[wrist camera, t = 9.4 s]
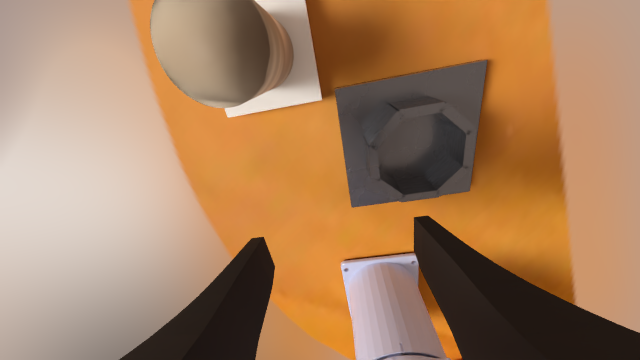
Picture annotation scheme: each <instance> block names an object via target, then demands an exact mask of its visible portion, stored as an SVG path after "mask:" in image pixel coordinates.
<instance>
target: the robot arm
mask: <svg viewBox="0 0 640 360" xmlns="http://www.w3.org/2000/svg"><path fill="white" fill-rule="evenodd" d="M414 252H415V253H409V254H400V255H391V256H383V257H374V258H365V259H356V260H347V261H343V262H342V263H341V269H342V274H343V279H344V285H345V290H346V295H347V300H348V305H349V310H350V315H351V317H352V324H353V334H354V344H355V354H356V360H451V359H450V358H447V357H446V355H445V352H444V350H443V347H442V345H441V343H440V340H439V338H438V335H437V333H436V330H435V328H434V325H433V323H432V321H431V318H430V316H429V313H428V311H427V308H426V306H425V303H424V301H423V299H422V296H421V294H420V291H419V289H418V267H419V266H420V269H421V271H422V273H423V275H424V277H425V279H426V281H427V283H428V285H429V287H430V289H431V291H432V293H433V295H434V297H435V299H436V301H437V303H438V305H439V307H440V309H441V311H442V313H443V315H444V317H445V319H446V321H447V323H448V325H449V327H450V329H451V331H452V334H453V336H454V339H455V341H456V344H457V346H458V349H459V351H460V353H461V356H462V358H463V360H640V333H638V332H636V331H633V330H630V329H628V328H626V327H623V326H621V325H618V324H616V323H614V322H612V321H609V320H607V319H605V318H602V317H600V316H598V315H595V314H593V313H591V312H589V311H586V310H584V309H582V308H580V307H578V306H575V305H573V304H571V303H569V302H567V301H565V300H563V299H561V298H559V297H557V296H555V295H553V294H551V293H549V292H547V291H545V290H543V289H541V288H539V287H537V286H535V285H533V284H531V283H529V282H527V281H525V280H524V279H522V278H520V277H518V276H516V275H515V274H513V273H511V272H509V271H508V270H506V269H504V268H502V267H501V266H499V265H497V264H496V263H494V262H493V261H491V260H489V259H488V258H486V257H485V256H483V255H482V254H480V253H478V252H477V251H475V250H474V249H473V248H471V247H470V246H468V245H467V244H465V243H464V242H463V241H461V240H460V239H458V238H457V237H456V236H454V235H453V234H452V233H450V232H449V231H448V230H446V229H445V228H444V227H442V226H441V225H440V224H438V223H437V222H436V221H434V220H433V219H432V218H430V217H429V216H421V217H414ZM412 261H413V262H412ZM345 268H347V269H345ZM274 270H275V266H274V263H273V260H272V258H271V255H270V252H269V250H268V247H267V245H266V242H265V239H264V237H259V238H252V239H251V240H250V241H249V242H248V243H247V244H246V245H245V246H244V247H243V249H242V250H241V251H240V252H239V253H238V254H237V255H236V257H235V258H234V259H233V260H232V261H231V262H230V264H229V265H228V266H227V267H226V268H225V269H224V270H223V271H222V272H221V273H220V274H219V275H218V276H217V277H216V278H215V280H214V281H213V282H212V283H211V284H210V285H209V286H208V287H207V288H206V289H205V290H204V291H203V292H202V293H201V294H200V295H199V296H198V297H197V298H196V299H195V300H193V301H192V302H191V303H190V304H189V305H188V306H187V307H186V308H185V309H183V310H182V311H181V312H180V313H179V314H178V315H177V316H176V317H174V318H173V319H172V320H171V321H169V322H168V323H167V324H166V325H164V326H163V327H162V328H161V329H159V330H158V331H157V332H156V333H155V334H153V335H152V336H151V337H150V338H148V339H147V340H146V341H144V342H143V343H142V344H140V345H139V346H137V347H136V348H135V349H133V350H132V351H131V352H129V353H128V354H126V355H125V356H124V357H122V358H121V359H120V360H255V357H256V351H257V346H258V341H259V337H260V333H261V329H262V325H263V321H264V317H265V313H266V310H267V306H268V302H269V298H270V294H271V290H272V285H273V278H274Z"/></svg>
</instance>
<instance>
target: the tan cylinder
mask: <svg viewBox="0 0 640 360" xmlns="http://www.w3.org/2000/svg"><path fill="white" fill-rule="evenodd" d="M150 29H151V38H152V43H153V47H154V50H155V53H156V55H157V58H158V60H159V62H160V64H161V66H162V68H163V70H164V71H165V73H166V74H167V76H168V77H169V78H170V80H171V81H172V82H173V83H174V84H175V85H176V86H177V87H178V88H179V89H180V90H181V91H182V92H183V93H184V94H186V95H187V96H189V97H190V98H192V99H193V100H195V101H197V102H199V103H202V104H204V105H207V106H211V107H216V108H230V107H235V106H239V105H241V104H243V103H245V102H247V101H249V100H251V99H253V98H255V97H257V96H259V95H261V94H263V93H265V92H267V91H270V90H272V89H274V88H276V87H277V86H279V85H281V84H282V83H283V82H284V81H285V80H286V79H287V77H288V76H289V74H290V72H291V69H292V66H293V60H294V51H293V45H292V42H291V39H290V36H289V35H288V33H287V31H286V29H285V28H284V27H283V26H282V24H281V23H280V22H279V21H277V20H276V19H275V18H274V17H273V16H272V15H271V14H269V13H268V12H267V11H266V10H265V9H264V8H262V7H261V6H260V5H259V4H258V3H257V2H256V1H254V0H155V1H154V3H153V6H152V11H151V19H150Z"/></svg>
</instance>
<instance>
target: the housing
mask: <svg viewBox="0 0 640 360" xmlns="http://www.w3.org/2000/svg"><path fill="white" fill-rule="evenodd" d="M486 66H487V60H478V61H473V62H467V63H462V64H457V65H452V66H447V67H442V68H436V69H431V70H426V71H421V72H416V73H411V74H405V75H400V76H395V77H390V78H385V79H379V80H374V81H369V82H364V83H359V84H354V85H348V86H343V87H338V88H335V95H336V102H337V109H338V116H339V123H340V130H341V137H342V144H343V151H344V158H345V165H346V172H347V179H348V186H349V193H350V200H351V206H352V207H359V206H367V205H374V204H381V203H388V202H396V201H399V202H407V201H414V200H421V199H429V198H436V197H439V196H441V195H447V194H454V193H461V192H468V191H470V185H471V177H472V170H473V162H474V155H475V148H476V140H477V133H478V125H479V118H480V111H481V103H482V96H483V88H484V81H485V73H486Z"/></svg>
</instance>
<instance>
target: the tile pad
mask: <svg viewBox="0 0 640 360" xmlns="http://www.w3.org/2000/svg"><path fill="white" fill-rule="evenodd" d="M254 1H256V2H257V3H258V4H259V5H260V6H261V7H262V8H264V9H265V10H266V11H267V12H268V13H269V14H271V15H272V16H273V17H274V18H275V19H276V20H277V21H279V22H280V23H281V24H282V26H283V27H284V28H285V29H286V31H287V33H288V35H289V36H290V39H291V42H292V45H293V51H294V60H293V66H292V69H291V72H290V74H289V76H288V77H287V79H286V80H285V81H284V82H283V83H282V84H281V85H279V86H277V87H276V88H274V89H272V90H270V91H267V92H265V93H263V94H261V95H259V96H257V97H255V98H253V99H251V100H249V101H247V102H245V103H243V104H241V105H239V106H235V107H230V108H225V111H226V114H227V116H228V118H229V117H234V116H239V115H245V114H250V113H255V112H261V111H266V110H271V109H276V108H282V107H287V106H292V105H298V104H303V103H308V102H313V101H319V100H322V94H321V88H320V82H319V77H318V71H317V65H316V59H315V53H314V47H313V41H312V35H311V29H310V24H309V18H308V12H307V6H306V0H254Z"/></svg>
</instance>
